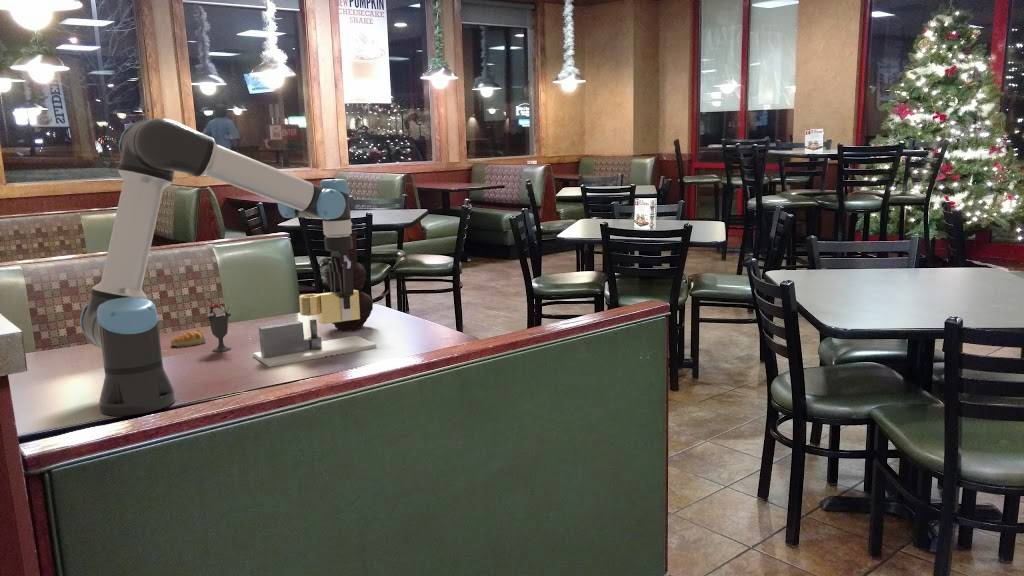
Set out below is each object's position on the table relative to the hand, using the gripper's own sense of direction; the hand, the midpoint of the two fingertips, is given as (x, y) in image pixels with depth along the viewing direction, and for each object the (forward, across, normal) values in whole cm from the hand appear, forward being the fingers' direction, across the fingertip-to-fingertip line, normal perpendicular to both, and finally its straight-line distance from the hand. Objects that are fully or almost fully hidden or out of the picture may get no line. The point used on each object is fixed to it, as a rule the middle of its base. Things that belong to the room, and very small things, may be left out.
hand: (344, 318), depth 221 cm
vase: (+8, +22, -10) cm, 26 cm away
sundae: (+8, +21, +29) cm, 37 cm away
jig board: (+8, 0, +9) cm, 12 cm away
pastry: (+9, +36, +34) cm, 50 cm away
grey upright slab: (+7, 0, +15) cm, 17 cm away
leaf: (0, 0, +4) cm, 4 cm away
